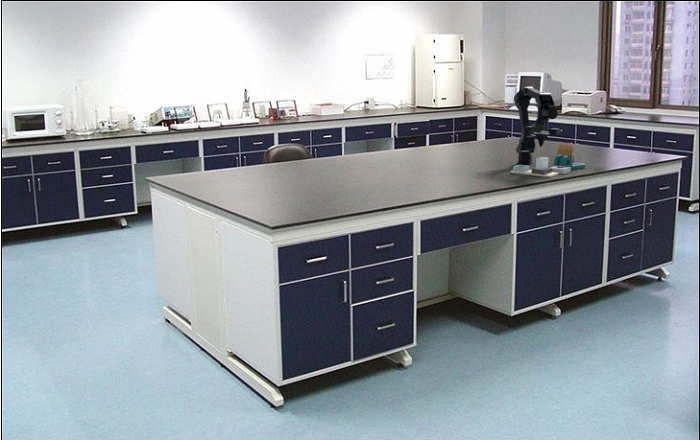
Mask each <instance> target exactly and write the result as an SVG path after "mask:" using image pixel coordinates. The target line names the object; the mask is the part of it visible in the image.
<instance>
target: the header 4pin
mask: <svg viewBox="0 0 700 440" xmlns="http://www.w3.org/2000/svg"><path fill="white" fill-rule="evenodd" d="M531 170H532V173H533V174H542V175H545V174H548V173H551V172H552V168H551V167H548V169H546V170H538V169H536V167H533V168H532V169H531Z"/></svg>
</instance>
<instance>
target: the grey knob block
mask: <svg viewBox="0 0 700 440" xmlns="http://www.w3.org/2000/svg"><path fill="white" fill-rule="evenodd" d="M550 168H552V172H556V173H559V174H560V175H565V174H568V173H571V171H572V170H571V167H564V166H554V165H553V166H551V167H550ZM559 174H558V175H559Z"/></svg>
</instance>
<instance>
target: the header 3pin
mask: <svg viewBox="0 0 700 440" xmlns="http://www.w3.org/2000/svg"><path fill="white" fill-rule="evenodd" d="M528 170H531V167H530V165H526V164H517V165H514V166H513V167H512V171H519V172H525V171H528Z"/></svg>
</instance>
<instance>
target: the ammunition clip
mask: <svg viewBox="0 0 700 440" xmlns="http://www.w3.org/2000/svg"><path fill="white" fill-rule="evenodd" d="M559 154H560V155H564V156H570V157H571V158H572V160H573V163H575V161H574V159H575V158H574V157H575V156H574V143H570V142H569V143H568V142H563V141H562V142H561V141H559V142H558V149H557V154H556V156H557V155H559ZM566 163H567V161H566Z"/></svg>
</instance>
